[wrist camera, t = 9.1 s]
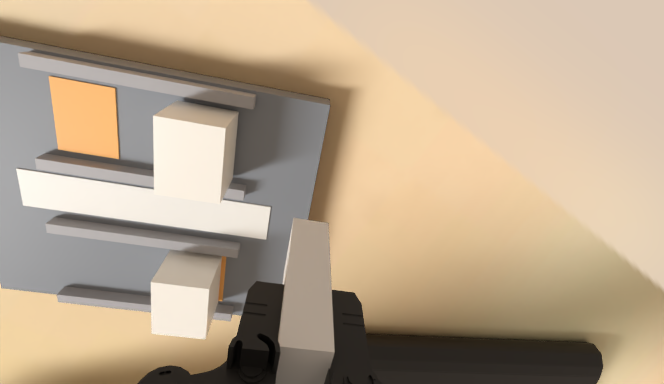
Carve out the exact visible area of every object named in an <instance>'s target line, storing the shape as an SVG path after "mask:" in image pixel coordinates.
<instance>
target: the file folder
mask: <svg viewBox="0 0 664 384" xmlns="http://www.w3.org/2000/svg"><path fill="white" fill-rule="evenodd" d="M366 339H367V346H368V352H369V359H370V365H371V368H372V370H373V372H374V373H375V374H376V375H377V378H378V379H379V381H380V382H382V383H383V384H596V383H597V382H598V380H599V378H600V376H601V373H602V369H603V362H602V355H601V353H600V352H599V350H598V349H597V348H596V346H595V345H594V344H592V343H587V342H564V341H538V340H512V339H486V338H460V337H434V336H408V335H382V334H366Z"/></svg>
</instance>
